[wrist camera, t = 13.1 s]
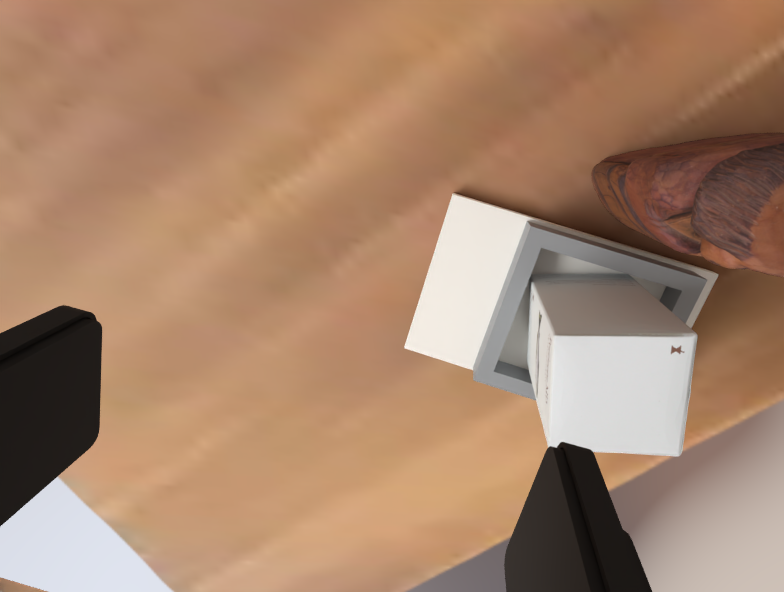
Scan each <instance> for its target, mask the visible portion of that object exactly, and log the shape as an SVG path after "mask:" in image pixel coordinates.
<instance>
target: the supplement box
mask: <svg viewBox="0 0 784 592" xmlns="http://www.w3.org/2000/svg"><path fill="white" fill-rule="evenodd" d="M697 338H698V335H697V334H696V333H695V332H694V331H693V330H692V329H691V328H690V327H689V326H687V325H686V324H685V323H684V322H683V321H682V320H681V319H679V318H678V317H677V316H676V315H675V314H674V313H672V312H671V311H670V310H669V309H668V308H667V307H666V306H664V305H663V304H662V303H661V302H660V301H659V300H658V299H656V298H655V297H654V296H653V295H652V294H651V293H649V292H648V291H647V290H646V289H645V288H644V287H643V286H641V285H640V284H639V283H638V282H637V281H636V280H635V279H633V278H632V277H631V276H630V275H629V274H622V273H621V274H611V273H610V274H531V276H530V279H529V328H528V347H527V364H528V368H529V373H530V377H531V381H532V385H533V389H534V393H535V397H536V401H537V405H538V409H539V413H540V417H541V420H542V424H543V428H544V432H545V436H546V440H547V444H548V448H549V447H550V446H552V447H556V448H557V446H558V445H559V444H560V443H561V442H565V443H569V444H573V445H576V446H580V447H584V448H587V449H590V450H592V451H593V452H608V453H630V454H645V455H662V456H676V457H677V456H680V455H681V453H682V450H683V442H684V433H685V426H686V419H687V411H688V404H689V398H690V392H691V380H692V373H693V365H694V358H695V350H696V343H697Z"/></svg>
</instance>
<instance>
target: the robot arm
mask: <svg viewBox="0 0 784 592" xmlns="http://www.w3.org/2000/svg"><path fill="white" fill-rule="evenodd" d="M101 352H102V326H101V324H100V323H99V322H97V320H96V317H95V315H94V314H93V313H91V312H88V311H84V310H80V309H77V308H73V307H69V306H64V305H63V306H59V307H57V308H54V309H52V310H50V311H48V312H46V313H43V314H41V315H39V316H37V317H35V318H33V319H30V320H28V321H26V322H24V323H22V324H20V325H17V326H15V327H13V328H11V329H9V330H7V331H4V332H2V333H0V526H1V525H2V524H3V523H5V522H6V521H7V520H8V519H9V518H10V517H11V516H13V515H14V514H15V513H16V512H17V511H18V510H20V508H22V507H23V506H24V505H25V504H26V503H28V502H29V501H30V500H31V499H32V498H33V497H34V496H35V495H37V494H38V493H39V492H40V491H41V490H42V489H44V488H45V487H46V486H47V485H48V484H49V483H50V482H51V481H53V480H54V479H55V478H56V477H57V476H58V475H60V474H61V473H62V472H63V471H64V470H65V469H66V468H68V467H69V466H70V465H71V464H72V463H73V462H74V461H76V460H77V459H78V458H79V457H80V456H81V455H82V454H84V453H85V452H86V451H87V450H88V449H89V448H90V447H91V446H92V445H93V444H94V442H95V441H96V439H97V437H98V433H99V425H100V389H101ZM504 565H505V579H506V591H507V592H652V590H651V587H650V585H649V582H648V580H647V577H646V575H645V572H644V570H643V567H642V564H641V562H640V559H639V557H638V554H637V552H636V549H635V547H634V545H633V542H632V540H631V538H630V536H629V534H628V533H627V532H625V531H624V530H623V529H622V526H621V524H620V521H619V519H618V516H617V513H616V511H615V508H614V505H613V503H612V500H611V498H610V495H609V492H608V490H607V487H606V484H605V482H604V479H603V476H602V474H601V471H600V469H599V466H598V463H597V461H596V458H595V455H594V453H593V451H592V450H590V449H587V448H584V447H580V446H576V445H573V444H569V443H565V442H561V443H560V444H559V445H558V446H557V448H556V447H552V446H550V447H549V448H548V449H547V451H546V453H545V455H544V458H543V460H542V463H541V465H540V467H539V470H538V472H537V475H536V477H535V480H534V482H533V485H532V487H531V490H530V492H529V495H528V497H527V500H526V502H525V505H524V507H523V510H522V512H521V514H520V517H519V519H518V522H517V524H516V527H515V529H514V532H513V534H512V537H511V539H510V542H509V544H508V547H507V550H506V554H505V564H504ZM0 592H47V591H43V590H40V589H37V588H34V587H30V586H27V585H24V584H20V583H17V582H14V581H10V580H7V579H4V578H0Z"/></svg>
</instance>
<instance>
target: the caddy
mask: <svg viewBox="0 0 784 592" xmlns="http://www.w3.org/2000/svg"><path fill="white" fill-rule="evenodd" d="M610 273H611V274H621V273H622V274H629V275H630V276H631V277H632V278H633V279H635V280H636V281H637V282H638V283H639V284H640V285H641V286H643V287H644V288H645V289H646V290H647V291H648V292H649V293H651V294H652V295H653V296H654V297H655V298H656V299H658V300H659V301H660V302H661V303H662V304H663V305H664V306H666V307H667V308H668V309H669V310H670V311H671V312H672V313H674V314H675V315H676V316H677V317H678V318H679V319H681V320H682V321H683V322H684V323H685V324H686V325H687V326H689V327H690V328H692V326H693V324H694V322H695V320H696V318H697V316H698V314H699V312H700V311H701V309H702V307H703V305H704V303H705V301H706V299H707V297H708V295H709V293H710V291H711V289H712V287H713V285H714V283H715V281H716V279H717V277H718V275H719V274H717V273H715V272H713V271H710V270H707V269H703V268H700V267H697V266H694V265H690V264H687V263H684V262H680V261H677V260H674V259H670V258H667V257H664V256H660V255H657V254H654V253H651V252H647V251H644V250H641V249H637V248H634V247H631V246H627V245H624V244H621V243H618V242H614V241H611V240H608V239H604V238H601V237H598V236H594V235H591V234H588V233H584V232H581V231H578V230H575V229H571V228H568V227H565V226H561V225H558V224H555V223H551V222H548V221H545V220H542V219H538V218H535V217H532V216H528V215H525V214H522V213H518V212H515V211H512V210H508V209H505V208H502V207H499V206H495V205H492V204H489V203H485V202H482V201H479V200H475V199H472V198H469V197H466V196H462V195H459V194H456V193H453V195H452V198H451V201H450V204H449V207H448V211H447V214H446V217H445V220H444V223H443V226H442V230H441V233H440V236H439V239H438V242H437V245H436V249H435V252H434V255H433V258H432V261H431V264H430V267H429V271H428V274H427V277H426V280H425V283H424V286H423V290H422V293H421V296H420V299H419V302H418V305H417V309H416V312H415V315H414V318H413V321H412V324H411V328H410V331H409V334H408V337H407V340H406V343H405V347H404V348H406V349H409V350H412V351H415V352H418V353H421V354H424V355H427V356H431V357H434V358H437V359H440V360H443V361H446V362H449V363H452V364H455V365H459V366H462V367H465V368H468V369H471V370H473V380H474V381H477V382H480V383H483V384H487V385H490V386H493V387H496V388H499V389H502V390H505V391H508V392H511V393H515V394H518V395H521V396H524V397H527V398H530V399H533V400H536V397H535V393H534V389H533V385H532V381H531V377H530V373H529V368H528V364H527V347H528V328H529V279H530V276H531V274H610Z"/></svg>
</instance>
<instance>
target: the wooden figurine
mask: <svg viewBox="0 0 784 592" xmlns="http://www.w3.org/2000/svg"><path fill="white" fill-rule="evenodd" d="M592 183H593V185H594V188H595V190H596V192H597V194H598V196H599V198H600V200H601V202H602V203H603V205H604V206H605V208H606V209H607V210H608V211H609V212H610V213H611V214H612V215H613V216H614V217H615V218H616V219H618V220H619V221H620V222H621V223H623V224H624V225H626V226H628V227H629V228H631V229H633V230H636V231H637V232H640V233H642V234H644V235H646V236H648V237H650V238H652V239H654V240H656V241H658V242H660V243H662V244H664V245H666V246H669V247H670V248H672V249H674V250H676V251H678V252H682V253H685V254H690V255H696V256H703V257H704V258H705V259H706V260H708V261H709V262H711V263H712V264H715V265H719V266H723V267H725V268H730V269H751V270H753V271H758V272H762V273H765V274H769V275H774V276H779V277H784V133H764V134H745V135H737V136H729V137H722V138H710V139H703V140H697V141H691V142H685V143H681V144H676V145H669V146H665V147H657V148H649V149H644V150H638V151H633V152H628V153H624V154H620V155H616V156H611V157H608V158H606V159H604V160H602V161H601V162H600V163H599V164H597V165H596V166H595V167H594V168H593V170H592Z"/></svg>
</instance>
